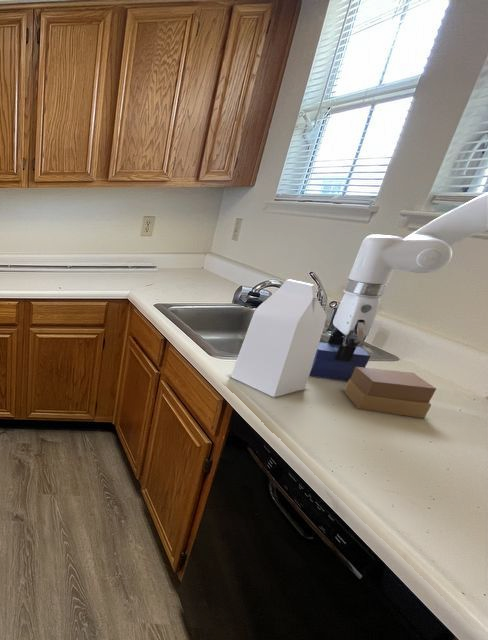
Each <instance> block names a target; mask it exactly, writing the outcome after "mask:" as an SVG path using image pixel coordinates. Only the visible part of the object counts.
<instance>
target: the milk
mask: <svg viewBox="0 0 488 640" xmlns="http://www.w3.org/2000/svg"><path fill="white" fill-rule="evenodd" d="M317 295H318V294H317V285H316V284H313V283H309V282H304V281H299V280H295V279H285V281H284V282H283V283H282V284H281V286H280V287H279V288H278V289H277V290H276V291H275V292H273V294H271V295H270V296H269V297H268V298H266V299H265V300H264V301H263V302H262V303H260V304H259V305H258V306H257V308H256V309H255V310H254V312H253V315H252V317H251V319H250V322H249V324H248V325H249V326H248V328H247V331H246V333H245V336H244V339H243V342H242V344H241V347H240V350H239V352H238V355H237V357H236V360H235V363H234V366H233V369H232V371H231V374H230V378H233V379H234V380H237V381H239V382H241V383H243V384H245V385H247V386H249V387H251V388H253V389H256V390H258V391H259V392H262V393H264V394H266V395H269V396H271V397H273V398H276V397H279V396H283V395H284V396H285V395H287V394H290V393H291V394H292V393H294V392H295V393H296V392H299V391H302V390H305V389H306V387H307V384H308V382H309V377H310V376H309V374H310V371H311V368H312V364H313V361H314V358H315V355H316V351H317V348H318V345H319V342H320V343H321V338H322V334H323V331H324V328H325V325H326V322H327V314H326V311H325V309H324V308H323V306H322V304H321V302H320V301H319V300H318V296H317Z"/></svg>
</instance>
